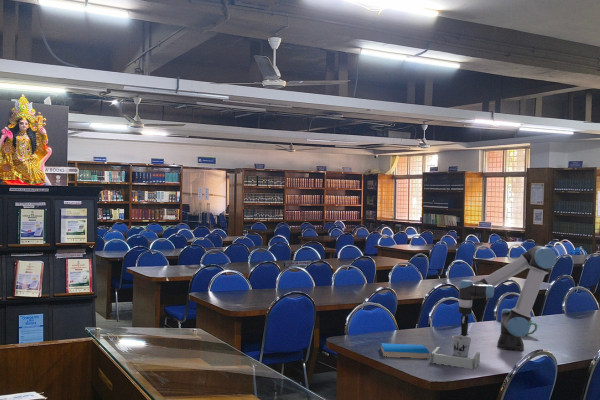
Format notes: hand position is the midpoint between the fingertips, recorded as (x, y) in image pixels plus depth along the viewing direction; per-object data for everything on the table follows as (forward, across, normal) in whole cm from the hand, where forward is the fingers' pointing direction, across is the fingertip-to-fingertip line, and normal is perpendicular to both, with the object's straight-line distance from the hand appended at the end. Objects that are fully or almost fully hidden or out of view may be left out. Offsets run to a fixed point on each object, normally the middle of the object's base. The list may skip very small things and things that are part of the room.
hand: (464, 346), depth 327 cm
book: (+3, +28, -28) cm, 40 cm away
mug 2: (+2, -61, +31) cm, 69 cm away
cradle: (+2, +29, 0) cm, 29 cm away
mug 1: (+2, +11, 0) cm, 11 cm away
